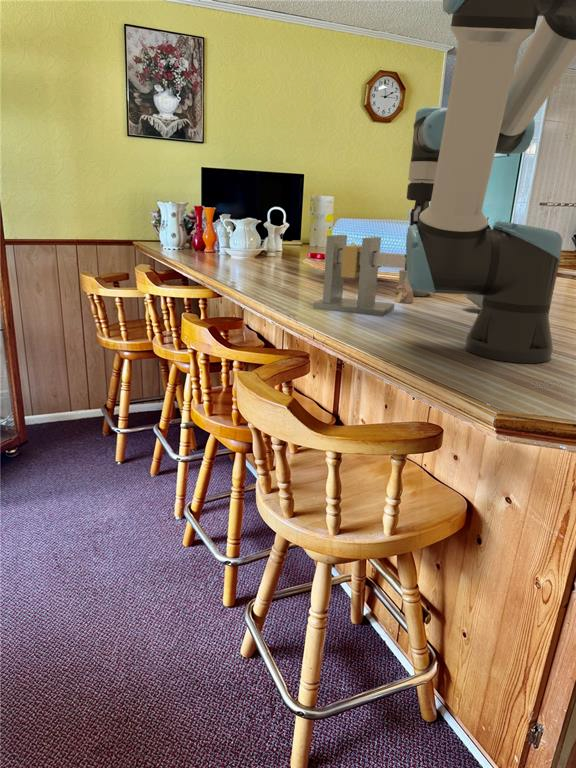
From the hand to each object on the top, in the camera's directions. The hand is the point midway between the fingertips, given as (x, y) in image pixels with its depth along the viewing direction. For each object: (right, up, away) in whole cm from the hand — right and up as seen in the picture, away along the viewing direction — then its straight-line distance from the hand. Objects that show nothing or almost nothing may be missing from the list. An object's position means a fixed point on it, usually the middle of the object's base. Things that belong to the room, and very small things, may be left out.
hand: (412, 284), depth 132 cm
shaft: (-9, +5, +3) cm, 11 cm away
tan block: (-14, +7, +4) cm, 16 cm away
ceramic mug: (+22, -5, +13) cm, 26 cm away
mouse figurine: (+4, -2, +22) cm, 22 cm away
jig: (-13, -5, +8) cm, 16 cm away
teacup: (+9, +3, +37) cm, 38 cm away
